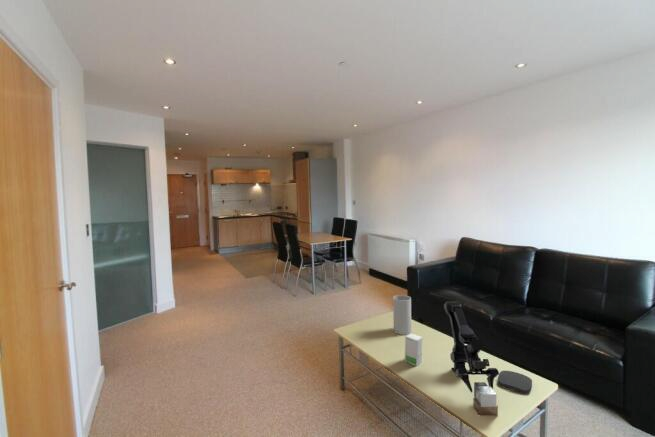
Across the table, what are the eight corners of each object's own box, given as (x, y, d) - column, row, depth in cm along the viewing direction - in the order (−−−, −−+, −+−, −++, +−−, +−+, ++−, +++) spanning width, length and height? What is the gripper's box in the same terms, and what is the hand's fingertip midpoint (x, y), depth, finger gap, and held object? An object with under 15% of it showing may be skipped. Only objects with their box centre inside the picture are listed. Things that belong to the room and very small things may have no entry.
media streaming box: (501, 372, 175) (501, 367, 174) (533, 382, 166) (533, 376, 165) (496, 385, 163) (496, 380, 163) (529, 396, 154) (529, 390, 154)
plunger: (474, 396, 150) (474, 382, 150) (484, 396, 150) (484, 382, 150) (481, 407, 142) (481, 392, 142) (492, 407, 142) (492, 392, 142)
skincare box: (404, 361, 189) (404, 336, 187) (410, 357, 193) (409, 332, 192) (417, 366, 183) (417, 340, 182) (422, 361, 188) (422, 336, 187)
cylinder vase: (390, 331, 230) (389, 297, 228) (400, 326, 239) (399, 293, 237) (404, 336, 221) (404, 301, 219) (414, 331, 229) (414, 297, 227)
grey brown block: (473, 407, 147) (473, 385, 146) (491, 407, 147) (492, 386, 146) (478, 416, 141) (478, 394, 140) (498, 416, 141) (498, 394, 140)
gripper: (457, 352, 152) (466, 388, 142) (497, 352, 151) (509, 388, 141) (452, 359, 160) (459, 393, 150) (489, 359, 159) (500, 394, 149)
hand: (481, 392), depth 147 cm, fingers open, 9 cm apart
